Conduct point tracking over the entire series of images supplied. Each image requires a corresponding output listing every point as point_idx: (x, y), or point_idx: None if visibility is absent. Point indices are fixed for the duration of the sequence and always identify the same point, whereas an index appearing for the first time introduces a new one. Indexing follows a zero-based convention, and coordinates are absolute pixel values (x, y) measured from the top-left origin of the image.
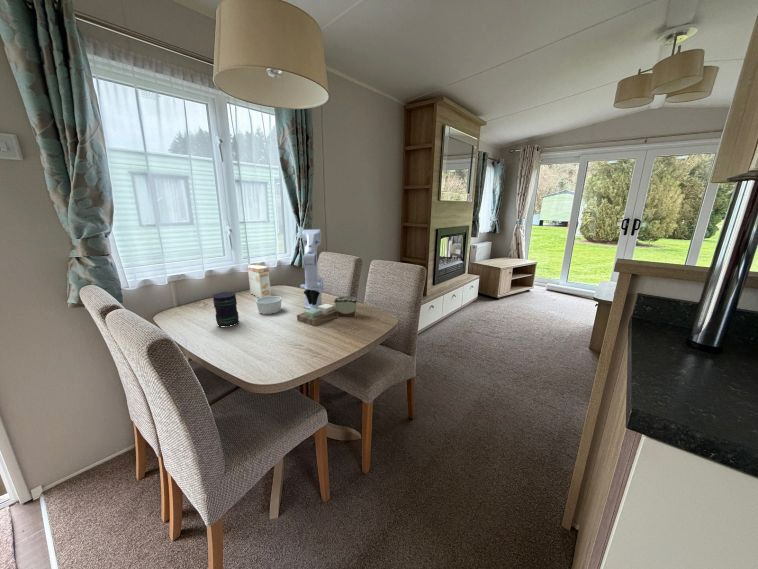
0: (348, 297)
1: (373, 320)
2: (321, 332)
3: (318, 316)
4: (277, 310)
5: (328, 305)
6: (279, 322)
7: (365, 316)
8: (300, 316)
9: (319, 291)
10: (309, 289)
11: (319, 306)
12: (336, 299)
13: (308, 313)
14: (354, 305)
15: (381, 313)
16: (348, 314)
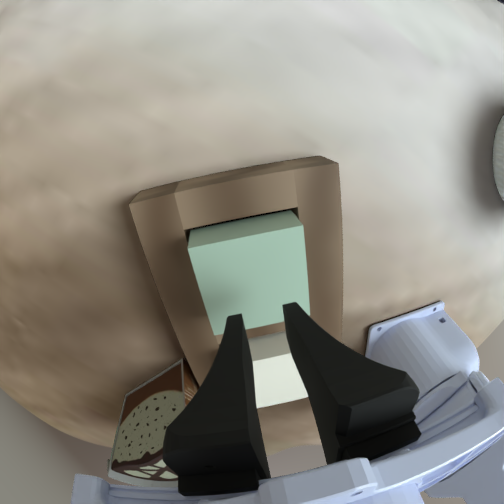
0: None
1: (71, 408)
2: (29, 181)
3: (180, 274)
4: (498, 166)
5: (269, 395)
6: (380, 61)
7: None
8: (293, 169)
9: (94, 492)
10: (247, 499)
11: None
12: None
13: (248, 231)
14: (118, 448)
15: None
16: (142, 397)
